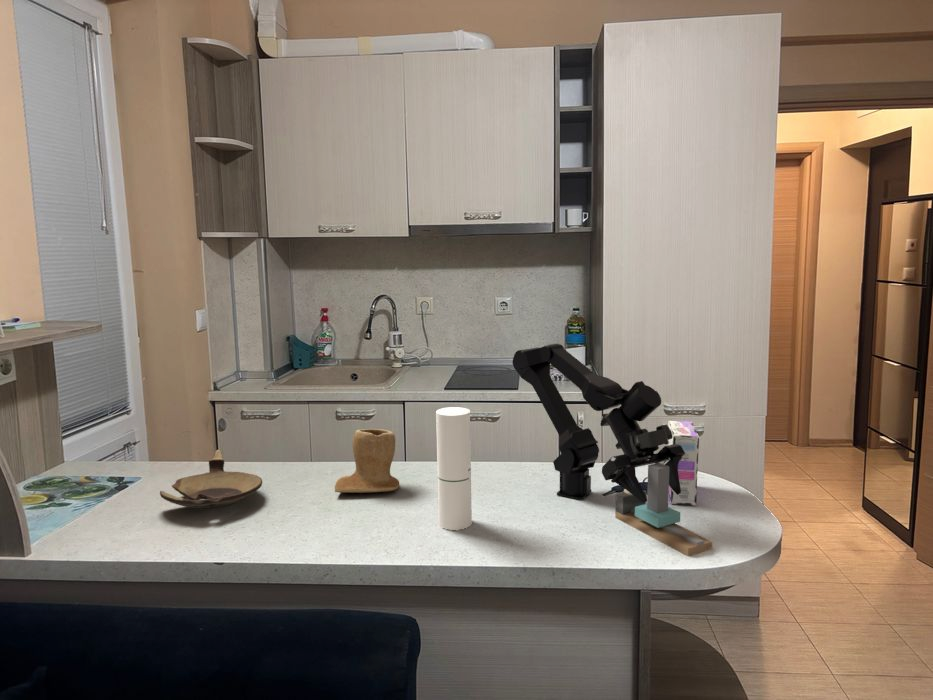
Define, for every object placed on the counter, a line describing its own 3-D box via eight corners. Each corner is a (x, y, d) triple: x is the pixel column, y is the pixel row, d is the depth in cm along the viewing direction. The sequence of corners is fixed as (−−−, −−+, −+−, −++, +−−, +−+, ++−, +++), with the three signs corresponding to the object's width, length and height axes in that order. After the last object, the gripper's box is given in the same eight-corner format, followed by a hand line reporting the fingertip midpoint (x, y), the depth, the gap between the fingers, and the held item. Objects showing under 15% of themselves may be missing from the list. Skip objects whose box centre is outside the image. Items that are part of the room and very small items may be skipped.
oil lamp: (140, 523, 157) (137, 490, 156) (204, 476, 187) (202, 448, 185) (238, 526, 155) (235, 492, 153) (286, 478, 184) (285, 450, 183)
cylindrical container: (476, 519, 156) (474, 408, 152) (465, 532, 149) (463, 416, 145) (445, 515, 158) (443, 406, 154) (433, 528, 152) (430, 414, 148)
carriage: (634, 515, 150) (635, 463, 148) (656, 510, 153) (657, 458, 151) (657, 527, 144) (659, 473, 142) (680, 521, 147) (682, 468, 145)
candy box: (697, 506, 161) (699, 436, 158) (670, 505, 162) (672, 435, 160) (690, 485, 175) (693, 420, 172) (665, 483, 176) (667, 419, 173)
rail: (614, 516, 156) (614, 491, 155) (637, 511, 159) (637, 486, 158) (687, 556, 137) (688, 527, 136) (711, 548, 140) (713, 520, 139)
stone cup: (400, 479, 182) (399, 422, 179) (398, 497, 170) (396, 436, 167) (341, 481, 181) (338, 424, 179) (334, 498, 169) (331, 438, 167)
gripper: (611, 419, 144) (647, 488, 136) (680, 407, 153) (718, 471, 145) (587, 446, 152) (619, 513, 144) (653, 434, 161) (688, 496, 153)
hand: (662, 497), depth 146 cm, fingers open, 9 cm apart
